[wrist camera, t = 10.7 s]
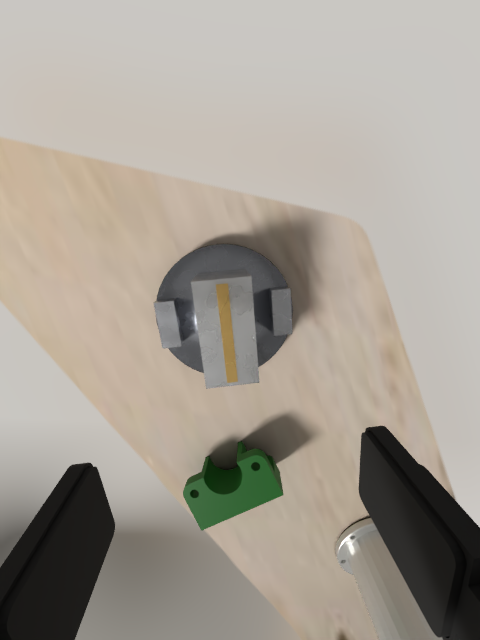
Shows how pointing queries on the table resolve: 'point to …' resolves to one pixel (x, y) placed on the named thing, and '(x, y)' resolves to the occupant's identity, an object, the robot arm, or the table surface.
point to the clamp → (232, 487)
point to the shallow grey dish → (180, 313)
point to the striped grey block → (226, 327)
